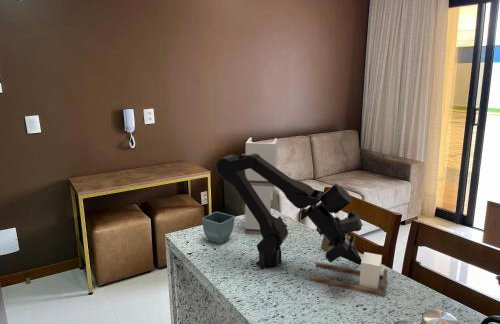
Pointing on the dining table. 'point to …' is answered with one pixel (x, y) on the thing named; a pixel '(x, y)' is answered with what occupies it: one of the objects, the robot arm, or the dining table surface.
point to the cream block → (370, 270)
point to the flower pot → (218, 226)
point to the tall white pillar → (260, 181)
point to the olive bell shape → (325, 244)
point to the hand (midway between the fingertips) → (361, 263)
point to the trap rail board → (346, 285)
